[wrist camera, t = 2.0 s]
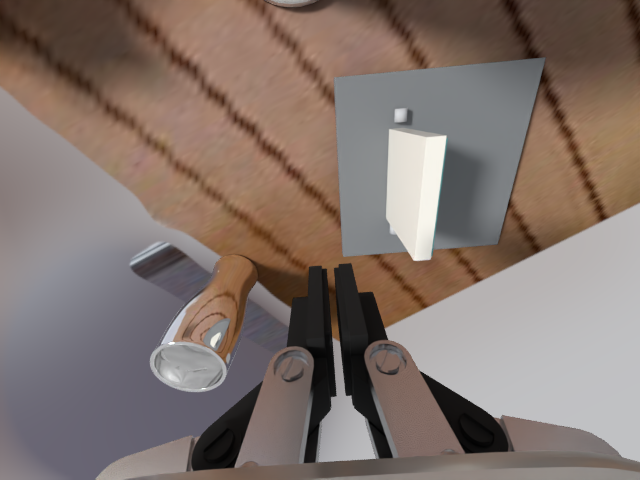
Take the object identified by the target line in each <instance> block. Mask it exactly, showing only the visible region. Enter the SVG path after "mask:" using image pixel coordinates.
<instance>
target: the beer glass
mask: <svg viewBox="0 0 640 480" xmlns="http://www.w3.org/2000/svg"><path fill="white" fill-rule="evenodd" d="M257 279H258V272H257V269H256V267H255V265H254V264H253V263H252V262H251V261H250V260H249V259H247V258H245V257H243V256H240V255H227V256H224V257H222V258H220V259H219V260H218V261H217V262H216V264H215V265H214V268H213V271H212V275H211V277H210V279H209V280H208V281H207V282H206V283H205V284H204V285H203V286H202V287H201V288H200V289H199V290H198V291H197V292H196V293H195V294H194V295H193V296H192V297H191V298H190V299H189V300H188V301H187V302H186V303H185V304H184V305H183V306H182V307H181V309H180V310H179V312H178V313H177V314H176V315H175V317H174V318H173V320H172V321H171V323H170V325H169V326H168V328H167V329H166V331H165V333H164V334H163V336H162V338H161V340H160V342H159V343H158V345H157V347H156V349H155V350H154V352H153V353H152V355H151V357H150V366H151V369H152V371H153V373H154V374H155V375H156V377H157V378H158V379H160V380H161V381H162V382H164V383H165V384H167V385H169V386H171V387H173V388H176V389H179V390H183V391H189V392H203V391H208V390H211V389H214V388H215V387H217V386H219V385H220V384H221V383H222V382H223V381H224V379H225V377H226V374H227V372H228V369H229V367H230V365H231V363H232V360H233V358H234V356H235V353H236V351H237V348H238V345H239V343H240V340H241V337H242V333H243V329H244V324H245V318H246V308H247V299H248V295H249V292H250V291H251V289H252V288H253V286H254V285H255V283H256V282H257Z"/></svg>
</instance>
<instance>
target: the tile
mask: <svg viewBox="0 0 640 480" xmlns="http://www.w3.org/2000/svg"><path fill="white" fill-rule="evenodd" d="M446 137H447V135H441V134H436V133H430V132H424V131H419V130H413V129H407V128H394V129H389V145H388V173H387V201H386V219H387V221H388V222H389V224H390V225H391V227H392V228H393V230H394V231H395V233H396V234H397V236H398V237H399V239H400V240H401V242H402V243H403V245H404V246H405V248H406V249H407V251H408V252H409V254H410V255H411V257H412V258H413V260H414V261H419V260H431V256H432V255H433V247H434V239H435V232H436V224H437V217H438V209H439V202H440V194H441V187H442V179H443V171H444V164H445V156H446V149H447V141H448V138H446Z"/></svg>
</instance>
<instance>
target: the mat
mask: <svg viewBox="0 0 640 480" xmlns="http://www.w3.org/2000/svg"><path fill="white" fill-rule="evenodd" d="M545 59H546V57H545V58H534V59H524V60H513V61H503V62H492V63H482V64H471V65H461V66H450V67H440V68H429V69H419V70H408V71H398V72H387V73H377V74H367V75H356V76H346V77H335V78H334V94H335V114H336V134H337V154H338V175H339V195H340V215H341V235H342V253H343V257H345V256H357V255H370V254H383V253H395V252H408V251H407V249H406V248H405V246H404V245H403V243H402V242H401V240H400V239H399V237H398V236H397V234H396V233H395V231H394V230H393V228H392V227H391V225H390V224H389V222H388V221H387V219H386V201H387V173H388V145H389V129H394V128H407V129H413V130H419V131H424V132H430V133H436V134H441V135H447V137H446V138H448V141H447V149H446V156H445V164H444V171H443V179H442V187H441V194H440V202H439V209H438V217H437V224H436V232H435V239H434V247H433V249H446V248H459V247H471V246H484V245H496V244H498V241H499V237H500V233H501V229H502V225H503V221H504V217H505V213H506V210H507V206H508V202H509V198H510V194H511V190H512V186H513V183H514V179H515V175H516V171H517V167H518V163H519V159H520V155H521V152H522V148H523V144H524V140H525V136H526V132H527V128H528V125H529V121H530V117H531V113H532V109H533V105H534V101H535V97H536V94H537V90H538V86H539V82H540V78H541V74H542V70H543V67H544V63H545Z"/></svg>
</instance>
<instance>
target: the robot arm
mask: <svg viewBox="0 0 640 480" xmlns="http://www.w3.org/2000/svg"><path fill="white" fill-rule="evenodd" d="M265 1H267V2H269V3H271V4H273V5H278V6H283V7H301V6H305V5H308V4H311V3H314V2H316V1H318V0H265ZM334 273H335V288H336V303H337V317H338V327H339V336H340V346H341V355H342V365H343V373H344V383H345V393H346V396H350V395H352V403H353V405H354V408H355V409H356V410H357V411H358V412H360V413H361V414H362V415H363V416H364V417H365V422H366V426H367V429H368V433H369V436H370V440H371V443H372V447H373V450H374V454H375V457H376V459H368V460H352V461H334V462H318V460H319V450H320V439H321V431H322V419H323V418H324V417H325V416H326V415H327V413H328V412H329V411H330V410H331V408H330V407H331V397H335V396H336V383H335V369H334V355H333V342H332V328H331V315H330V303H329V292H328V280H327V269H322V266H310V267H309V281H308V297H297V298H293V301H292V309H291V317H290V325H289V333H288V341H287V348H284V349H282V350H280V351H279V352H277V353H276V354H275V355H274V356H273V358H272V359H271V361H270V363H269V365H268V368H267V371H266V374H265V378H264V380H263V381H262V382H261V383H260V384H259V385H257V386H256V387H255V388H254V389H253V390H252V391H250V392H249V393H248V394H247V395H246V396H245V397H243V398H242V399H241V400H240V401H239V402H238V403H236V404H235V405H234V406H233V407H232V408H231V409H229V410H228V411H227V412H226V413H225V414H224V415H222V416H221V417H220V418H219V419H218V420H217V421H216V422H214V423H213V424H212V425H211V426H210V427H208V429H207V430H206V431H205V432H204V433H203V434H202V435H201V436H199V437H196V438H193V436H192V435H190V436H187V437H184V438H181V439H178V440H175V441H172V442H169V443H166V444H163V445H160V446H157V447H154V448H151V449H148V450H145V451H142V452H139V453H135V454H132V455H129V456H126V457H123V458H121V459H119V460H117V461H115V462H113V463H112V464H111V465H109V466H108V467H107V468H106V469H105V470H103V471H102V472H101V473H100V475H99V476H98V477H97V478H96V480H640V462H637V461H634V460H630V459H626V458H622V457H621V455H620V454H619V453H618V452H617V451H616V450H615V449H614V448H613V447H611V446H610V445H609V444H608V443H607V442H605V441H604V440H602V439H601V438H599V437H597V436H595V435H594V434H592V433H589V432H586V431H583V430H580V429H576V428H570V427H564V426H558V425H553V424H548V423H542V422H537V421H531V420H526V419H520V418H515V417H509V416H504V415H502V417H501V419H499V418H494V417H492V416H491V415H490V414H488V413H487V412H486V411H484V410H483V409H482V408H480V407H478V406H476V405H475V404H473V403H472V402H470V401H468V400H467V399H465V398H463V397H462V396H460V395H459V394H457V393H455V392H453V391H452V390H450V389H449V388H447V387H445V386H444V385H442V384H441V383H439V382H437V381H436V380H434V379H432V378H430V377H429V376H427V375H426V374H424V373H423V372H421V371H419V370H418V368H417V366H416V365H415V362H414V361H413V359H412V357H411V355H410V354H409V352H408V351H407V350H406V349H405V348H404V347H403V346H402V345H400V344H398V343H396V342H394V341H389V340H388V338H387V335H386V332H385V329H384V325H383V322H382V319H381V316H380V313H379V310H378V307H377V303H376V300H375V297H374V294H373V292H363V293H358V290H357V286H356V281H355V277H354V273H353V269H352V265H351V263H349V264H339V268H334Z"/></svg>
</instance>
